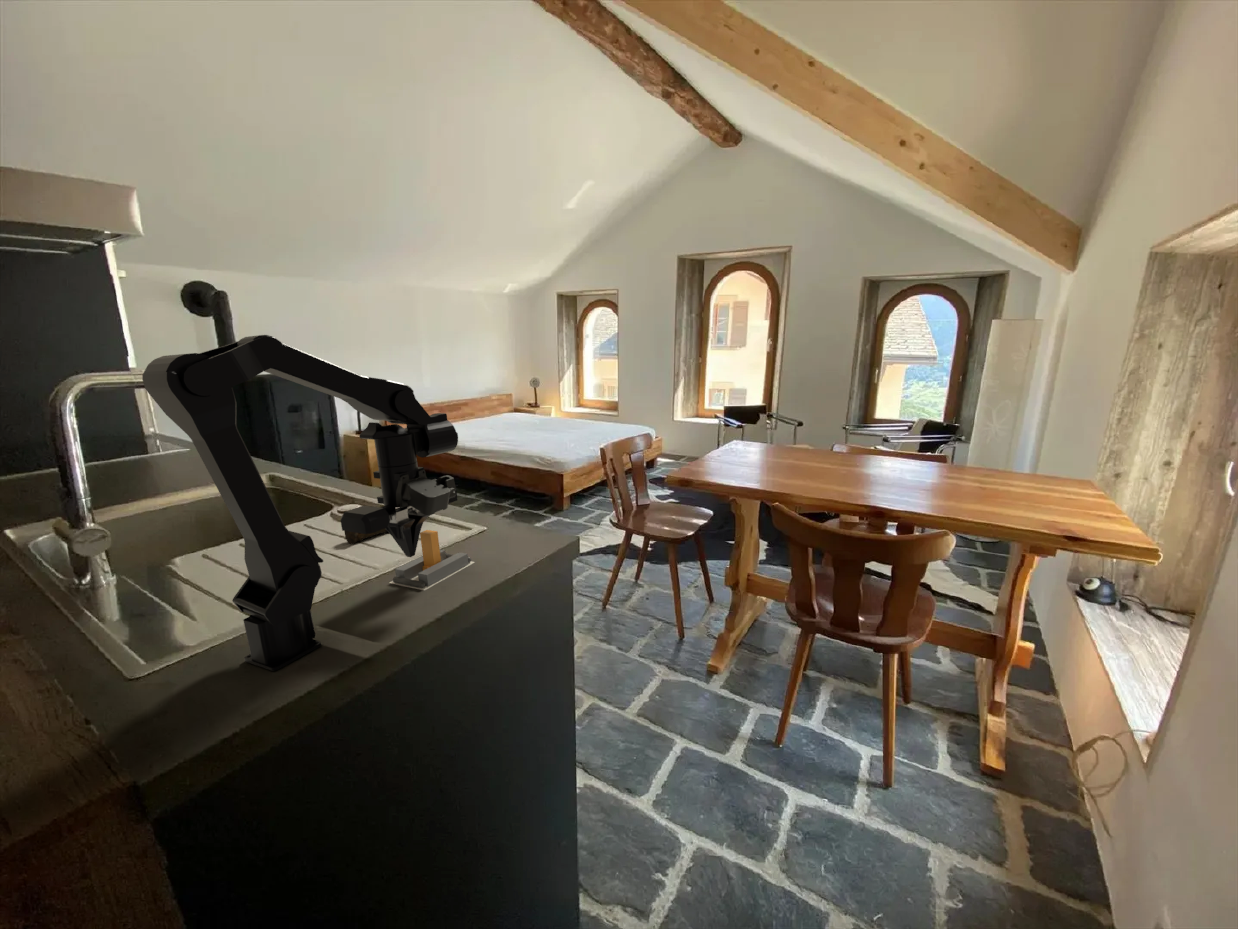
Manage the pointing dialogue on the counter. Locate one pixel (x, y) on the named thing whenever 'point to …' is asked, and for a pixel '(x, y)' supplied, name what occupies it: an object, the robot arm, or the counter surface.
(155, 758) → the counter surface
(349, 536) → the dark brown rod
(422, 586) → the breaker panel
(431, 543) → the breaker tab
